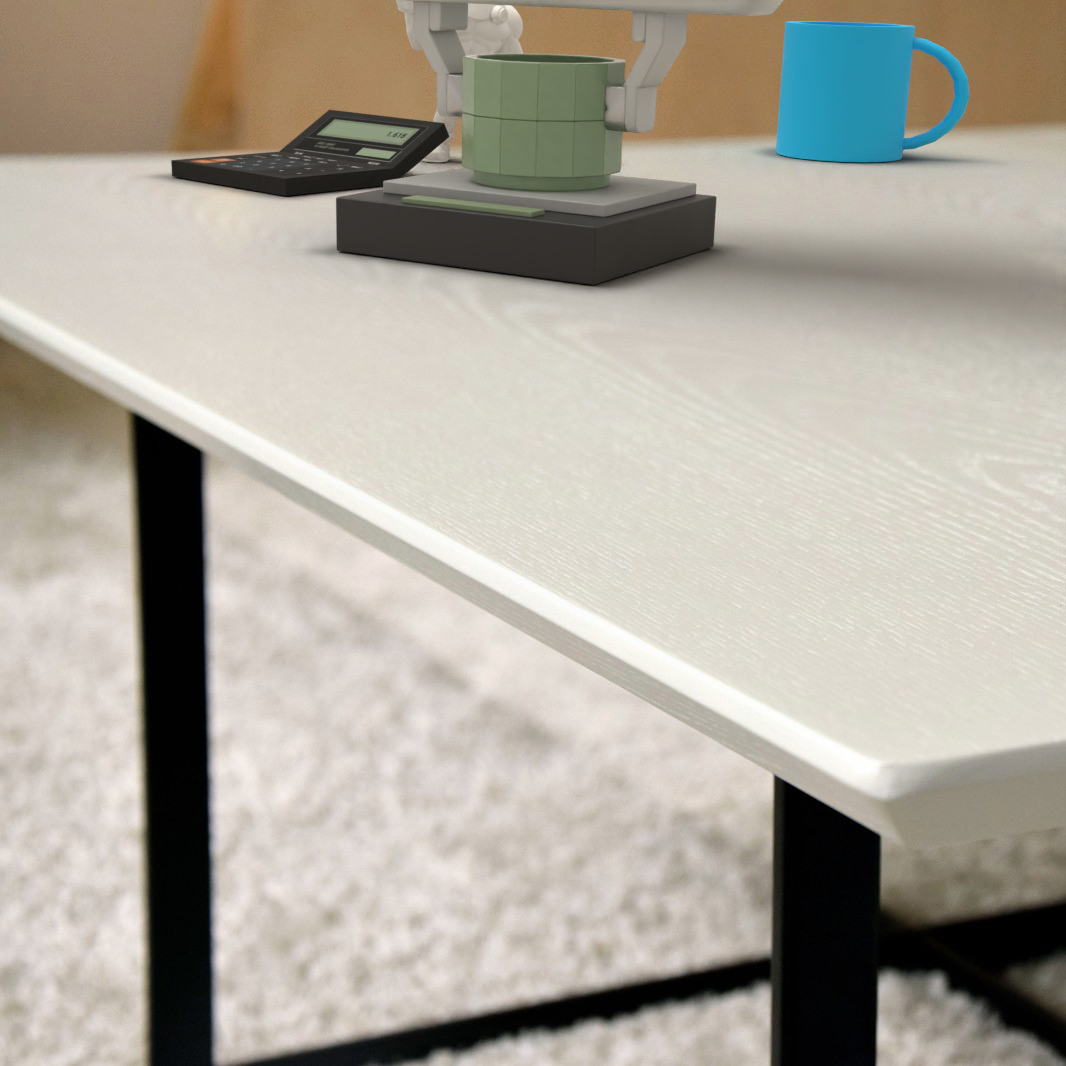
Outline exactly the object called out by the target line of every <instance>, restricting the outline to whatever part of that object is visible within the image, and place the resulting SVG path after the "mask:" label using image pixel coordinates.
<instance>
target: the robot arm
mask: <svg viewBox="0 0 1066 1066" xmlns="http://www.w3.org/2000/svg"><path fill="white" fill-rule="evenodd" d="M404 1H414V4H413V30H414V32H415V34H416V36H417V38H418V41H419V43H420V45H421V47H422V51H423V54H424V55H425V57H426V59H427V61H428V63H429V65H430V67H431V70H432V71H433V73H434V74H436V108H437V111H438V113H439V115H440V116H443V117H454V118H457V119H462V114H463V112H462V82H463V57H465V56H466V55H465V52H464V50H463V47H462V45H461V42H460V40H459V37H458V35H457V32H456V30H466V29H467V28H468V3H470V4H492V5H511V6H513V7H514V6H516V7H540V8H560V9H582V10H583V9H584V10H604V11H627V12H632V16H631V40H632V41H633V42H634V43H644V45H643V46H642V47H641V51H640V52H639V54H638V56H637V58H636V60H635V62H634V64H633V66H632V68H631V70H630V71H629V74H628V75H627V77H626V78H625V83H624V84H619V85H609V86H605V101H604V103H605V105H606V107H607V110H606V112H605V113H604V125H605V127H606V128H607V130H611V131H620V132H623V133H634V134H642V133H643V134H645V133H650V132H652V131H653V129H654V127H655V124H656V115H657V114H656V113H657V98H658V97H657V95H658V86H662V83H663V81H664V79H665V78H666V76H667V75H668V73H669V71H670V70H671V68H672V67H673V65H674V63H675V62H676V60H677V59H678V57H679V55H680V53H681V52H682V50H683V49H684V47H685V46H686V44H687V31H688V14H692V15H711V16H713V15H715V16H716V15H717V16H734V17H735V16H736V17H763V16H770V15H772V14H774V13H775V12H776V10H777V9H778V8H779V7H780V6H781V5H782V3H783V2H784V1H785V0H404Z"/></svg>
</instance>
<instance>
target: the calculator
mask: <svg viewBox="0 0 1066 1066" xmlns="http://www.w3.org/2000/svg"><path fill="white" fill-rule="evenodd" d="M447 138H449V134H448V132H447V129H446V126H445V124H444V123H439V122H433V121H431V120H430V121H429V120H423V119H422V120H421V119H413V118H404V117H396V116H387V115H380V114H379V115H377V114H371V113H363V112H355V111H354V112H353V111H345V110H336V109H328V110H327V111H326V112H325V113H323V114H322V115H321V116H320V117H318V118H317V119H316V120H315V121H313V122H312V124H310V125H309V126H308V127H306V128H305V129H304V130H303V131H302V132H301V133H299V134H298V135H297V136H296V137H294V139H292V140H291V141H290V142H289V143H287V144H286V145H285V146H283V147H282V148H281V149H280V150H278V151H269V152H256V153H243V154H231V155H219V156H218V155H217V156H207V157H193V158H181V159H180V158H179V159H171V160H170V161H171V163H170V164H171V165H170V166H171V177H173V178H179V179H185V180H189V181H196V182H203V183H208V184H213V185H218V186H219V185H220V186H225V187H230V188H231V187H232V188H237V189H242V190H249V191H255V192H261V193H266V194H272V195H278V196H284V197H288V196H297V195H306V194H317V193H326V192H335V191H344V190H355V189H364V188H373V187H383V181H387V180H393V179H399V178H404V177H405V176H406V175H407V173H409V172H410V171H411V170H412V169H414V168H415V167H416V166H417V165H418V164H419V163H420V162H423V159H424V158H425V157H426V156H427V155H429V154H430V153H431V152H432V151H433V150H434V149H436V148H437V147H438V146H439V145H440V144H442V143H443V142H444V141H445V140H446V139H447Z"/></svg>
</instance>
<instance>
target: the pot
mask: <svg viewBox="0 0 1066 1066" xmlns="http://www.w3.org/2000/svg"><path fill="white" fill-rule="evenodd" d="M626 69H627V60H626V59H623V58H615V57H607V56H597V55H596V56H595V55H582V54H581V55H580V54H559V53H525V52H523V53H501V54H474V55H467V56H465V57H463V82H462V112H463V114H462V118H461V166H462V167H461V168H467V169H470V170H472V171H473V181H474V182H476V183H478V184H481V185H485V186H489V187H495V188H503V189H513V190H526V191H582V190H593V189H599V188H603V187H606V186H608V185H610V176H611V175H615V174H619V173H621V171H622V165H623V164H622V163H623V142H624V141H623V139H624V132H620V131H611V130H607V128H606V127H605V125H604V113H605V112H606V110H607V107H606V105H605V103H604V101H605V86H609V85H619V84H624V83H625V81H626V72H627V71H626Z"/></svg>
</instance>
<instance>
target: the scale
mask: <svg viewBox="0 0 1066 1066" xmlns="http://www.w3.org/2000/svg"><path fill="white" fill-rule="evenodd" d="M716 213H717V196H716V195H709V194H701V193H697V183H695V182H688V181H687V182H684V181H676V180H668V179H667V180H665V179H664V180H663V179H657V178H656V179H655V178H644V177H636V176H635V177H634V176H625V175H615V174H611V176H610V185H608V186H606V187H603V188H599V189H593V190H582V191H526V190H513V189H503V188H495V187H489V186H485V185H481V184H478V183H476V182H474V181H473V171H472V170H470V169H467V168H465V167H460V168H459V167H458V168H453V169H448V170H442V171H436V172H428V173H424V174H416V175H411V176H404V177H402V178H399V179H393V180H387V181H383V186H382V189H375V190H370V191H364V192H358V193H352V194H346V195H341V196H336V198H335V225H336V227H335V228H336V229H335V232H336V237H335V238H336V251H338V252H342V253H351V254H356V255H357V254H358V255H365V256H372V257H381V258H386V259H387V258H389V259H395V260H401V261H402V260H403V261H410V262H417V263H425V264H433V265H439V266H448V267H456V268H461V269H469V270H477V271H485V272H491V273H499V274H507V275H513V276H514V275H515V276H523V277H529V278H537V279H545V280H552V281H560V282H568V283H574V284H582V285H589V286H593V285H598V284H600V283H603V282H607V281H610V280H614V279H617V278H619V277H623V276H625V275H629V274H632V273H636V272H638V271H642V270H645V269H647V268H651V267H655V266H657V265H660V264H663V263H666V262H671V261H673V260H677V259H680V258H683V257H686V256H689V255H692V254H695V253H699V252H702V251H705V250H708V249H712V248H714V245H715V229H716V228H715V227H716Z"/></svg>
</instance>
